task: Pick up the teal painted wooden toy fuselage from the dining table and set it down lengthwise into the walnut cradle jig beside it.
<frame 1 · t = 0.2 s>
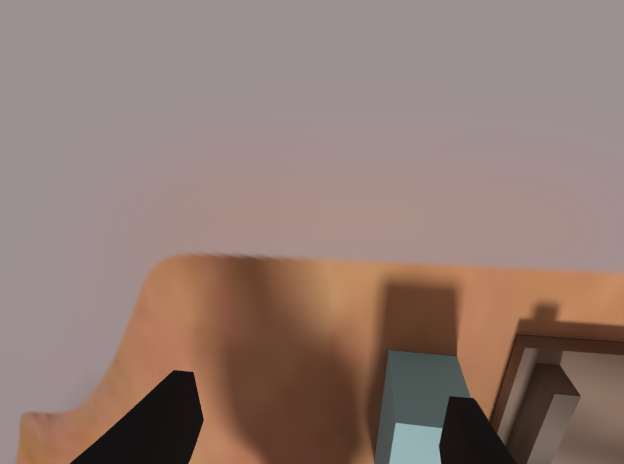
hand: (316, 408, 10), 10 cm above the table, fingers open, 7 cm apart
fuselage: (410, 413, 23), on the table
cradle: (579, 439, 22), on the table
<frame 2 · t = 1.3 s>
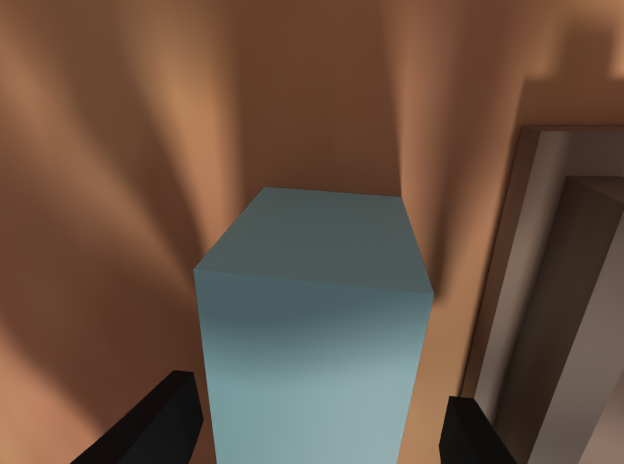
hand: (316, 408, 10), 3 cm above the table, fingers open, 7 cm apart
fuselage: (322, 335, 13), on the table
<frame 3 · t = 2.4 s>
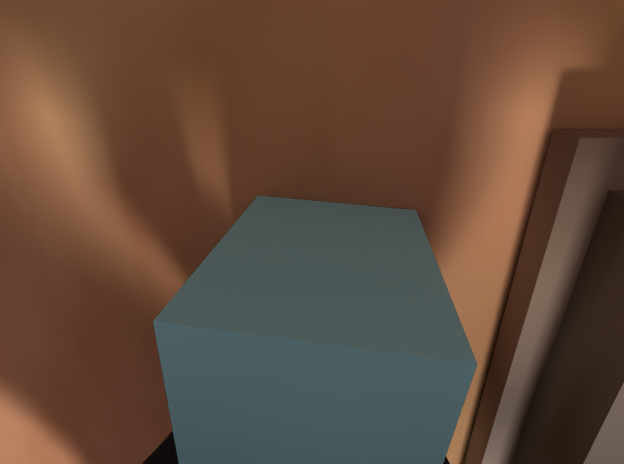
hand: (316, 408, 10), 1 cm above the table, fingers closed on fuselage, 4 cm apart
fuselage: (321, 364, 11), on the table, touching gripper
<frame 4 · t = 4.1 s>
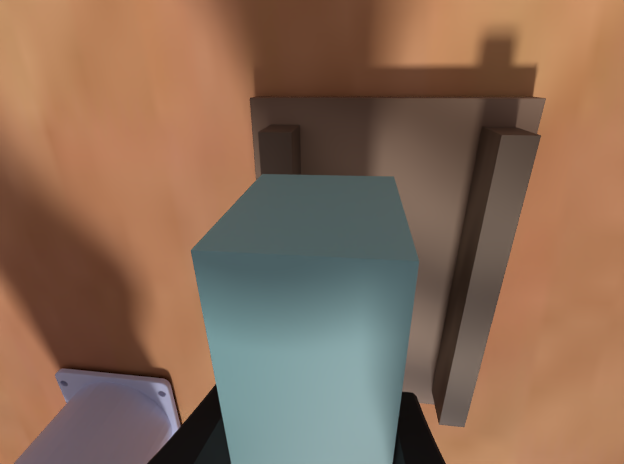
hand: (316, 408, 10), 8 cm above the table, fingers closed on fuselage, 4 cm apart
fuselage: (326, 319, 13), point 5 cm above the table, touching gripper
cradle: (375, 267, 17), on the table
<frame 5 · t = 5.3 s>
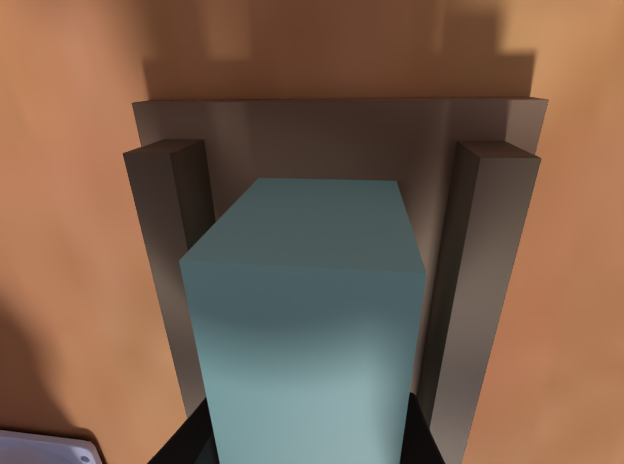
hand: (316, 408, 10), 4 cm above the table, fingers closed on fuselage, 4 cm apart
fuselage: (325, 329, 12), point 1 cm above the table, touching cradle, gripper
cradle: (327, 319, 13), on the table
when the fingers open (4 cm above the table, at t = 5.9 s): fuselage stays where it is, resting on cradle.
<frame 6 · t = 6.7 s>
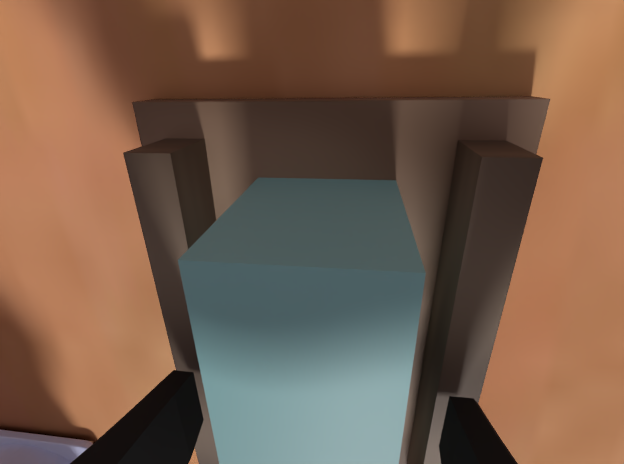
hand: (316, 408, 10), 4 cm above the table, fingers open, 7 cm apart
fuselage: (325, 329, 12), point 1 cm above the table, touching cradle
cradle: (327, 319, 13), on the table
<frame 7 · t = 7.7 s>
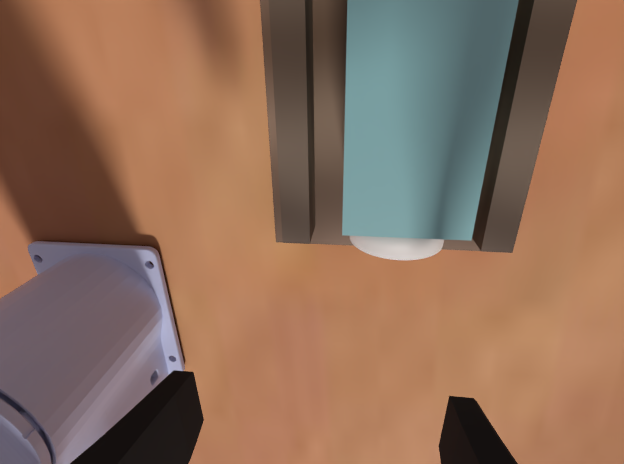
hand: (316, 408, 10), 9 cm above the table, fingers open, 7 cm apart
fuselage: (404, 51, 13), point 1 cm above the table, touching cradle
cradle: (400, 62, 14), on the table
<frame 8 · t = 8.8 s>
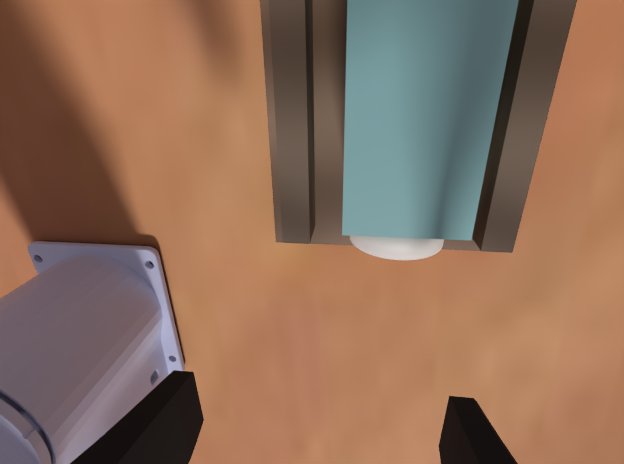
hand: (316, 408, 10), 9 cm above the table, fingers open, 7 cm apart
fuselage: (404, 51, 13), point 1 cm above the table, touching cradle
cradle: (400, 62, 14), on the table
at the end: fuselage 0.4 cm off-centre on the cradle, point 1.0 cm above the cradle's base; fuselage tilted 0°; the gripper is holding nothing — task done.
